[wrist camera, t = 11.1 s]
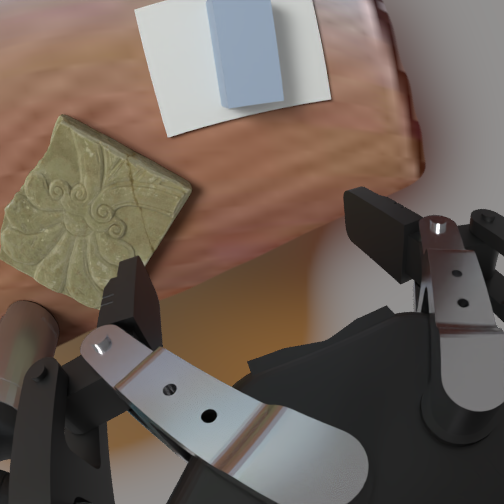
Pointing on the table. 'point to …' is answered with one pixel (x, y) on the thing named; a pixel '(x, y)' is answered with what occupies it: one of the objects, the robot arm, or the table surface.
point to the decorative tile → (88, 212)
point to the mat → (203, 64)
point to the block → (245, 52)
